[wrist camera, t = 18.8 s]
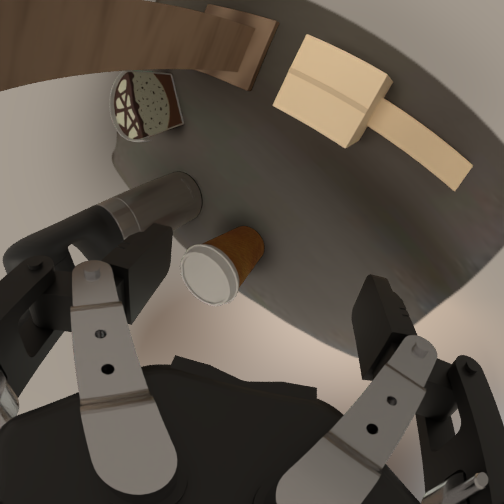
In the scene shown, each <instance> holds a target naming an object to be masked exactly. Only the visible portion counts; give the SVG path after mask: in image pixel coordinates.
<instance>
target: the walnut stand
mask: <svg viewBox="0 0 504 504" xmlns="http://www.w3.org/2000/svg"><path fill="white" fill-rule="evenodd" d="M278 25H279V22H277V21H274V20H271V19H268V18H264V17H261V16H257V15H254V14H250V13H246V12H242V11H238V10H234V9H229V8H225V7H220V6H215V5H210V4H208V5H207V7H206V10H205V12H204V13H203V12H199V11H195V10H191V9H186V8H182V7H177V6H172V5H167V4H162V3H156V2H150V1H144V0H0V91H4V90H7V89H11V88H15V87H19V86H23V85H27V84H32V83H36V82H41V81H46V80H52V79H57V78H63V77H69V76H76V75H84V74H92V73H101V72H111V71H125V70H144V69H195V70H198V71H200V72H203V73H206V74H208V75H211V76H213V77H216V78H218V79H221V80H223V81H226V82H228V83H231V84H233V85H235V86H238V87H240V88H242V89H244V90H247V91H251V90H252V87H253V85H254V82H255V80H256V77H257V75H258V72H259V70H260V68H261V65H262V63H263V60H264V58H265V56H266V53H267V51H268V48H269V46H270V44H271V41H272V39H273V37H274V34H275V32H276V30H277V28H278Z"/></svg>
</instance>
